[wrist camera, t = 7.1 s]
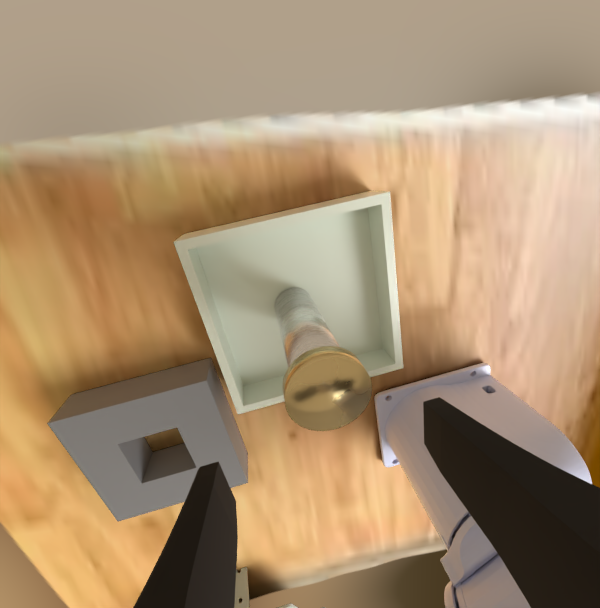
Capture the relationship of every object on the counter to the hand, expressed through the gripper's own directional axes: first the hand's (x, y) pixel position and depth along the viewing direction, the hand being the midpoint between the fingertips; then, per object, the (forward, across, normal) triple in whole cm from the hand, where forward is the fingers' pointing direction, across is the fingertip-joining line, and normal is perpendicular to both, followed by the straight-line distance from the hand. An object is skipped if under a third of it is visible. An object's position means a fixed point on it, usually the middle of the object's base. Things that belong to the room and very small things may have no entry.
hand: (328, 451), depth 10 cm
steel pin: (+10, -1, -1) cm, 10 cm away
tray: (+10, -1, -1) cm, 11 cm away
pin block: (+10, +10, +6) cm, 15 cm away
